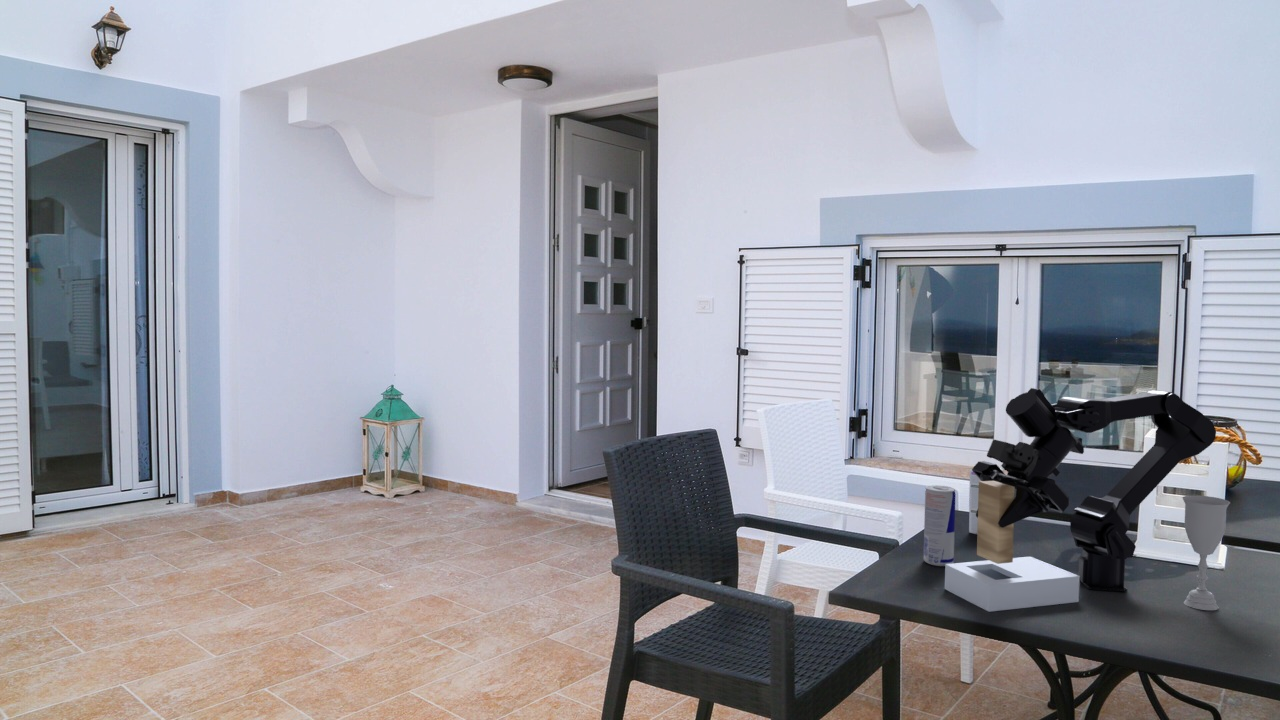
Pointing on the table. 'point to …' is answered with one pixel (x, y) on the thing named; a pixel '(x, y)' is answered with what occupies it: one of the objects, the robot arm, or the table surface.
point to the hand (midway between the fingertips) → (988, 521)
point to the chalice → (1204, 541)
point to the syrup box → (974, 502)
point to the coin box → (1011, 584)
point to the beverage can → (939, 525)
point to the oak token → (994, 522)
